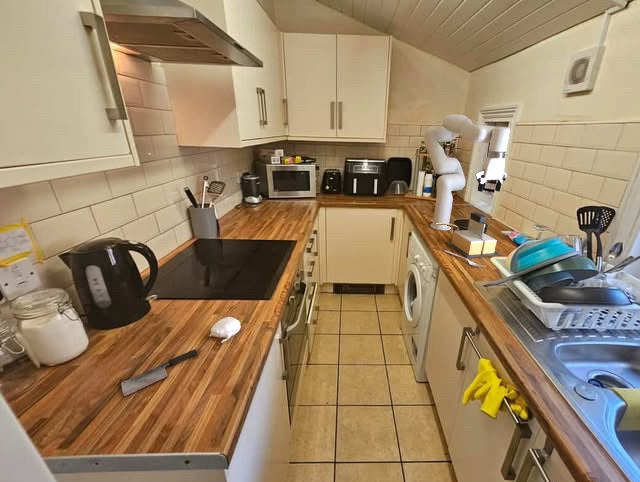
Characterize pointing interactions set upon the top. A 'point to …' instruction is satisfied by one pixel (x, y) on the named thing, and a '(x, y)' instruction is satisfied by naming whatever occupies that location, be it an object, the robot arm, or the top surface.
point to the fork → (466, 259)
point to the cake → (473, 244)
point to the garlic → (225, 328)
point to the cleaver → (151, 375)
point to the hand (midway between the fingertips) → (488, 191)
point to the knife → (477, 224)
